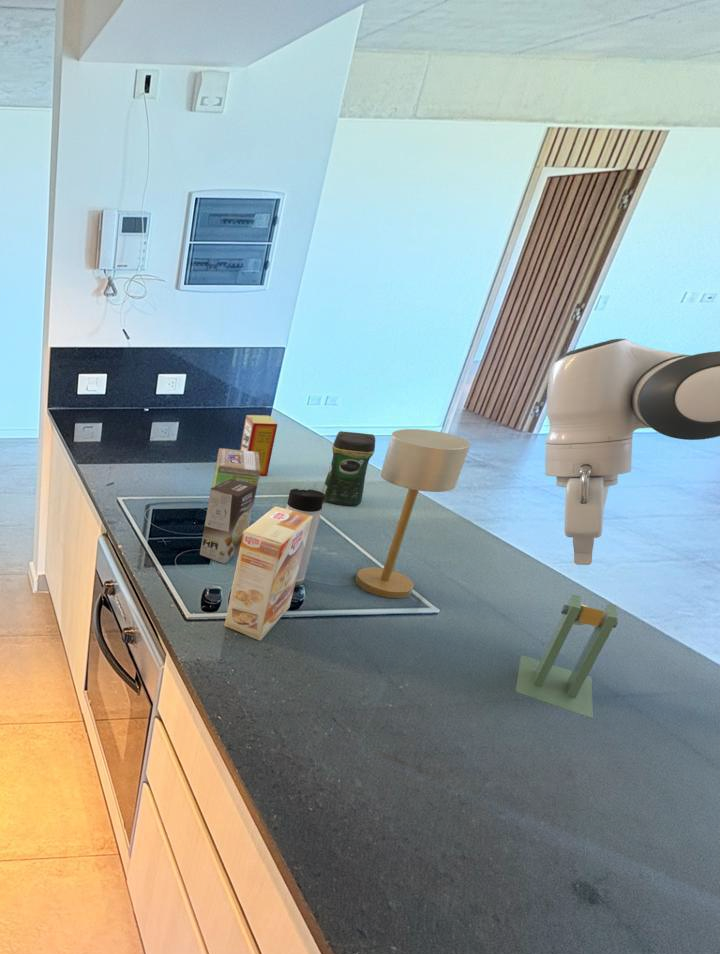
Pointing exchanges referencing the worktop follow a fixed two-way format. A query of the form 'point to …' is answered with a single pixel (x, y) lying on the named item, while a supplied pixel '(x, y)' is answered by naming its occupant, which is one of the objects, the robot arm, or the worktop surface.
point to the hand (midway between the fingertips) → (583, 556)
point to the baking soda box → (259, 438)
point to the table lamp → (413, 493)
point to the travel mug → (312, 506)
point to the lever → (588, 616)
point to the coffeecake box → (267, 571)
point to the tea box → (237, 466)
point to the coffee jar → (348, 468)
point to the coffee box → (227, 519)
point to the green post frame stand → (560, 682)
